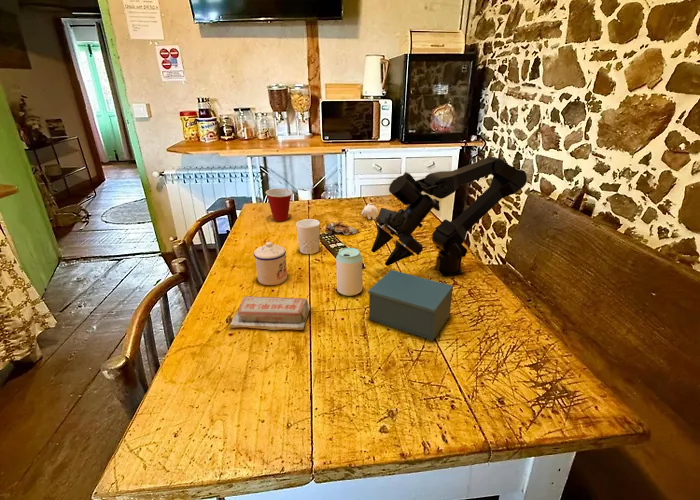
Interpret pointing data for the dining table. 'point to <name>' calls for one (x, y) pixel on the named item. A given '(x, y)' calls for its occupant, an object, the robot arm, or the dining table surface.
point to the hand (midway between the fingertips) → (378, 258)
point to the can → (349, 271)
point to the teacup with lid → (271, 264)
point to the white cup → (308, 235)
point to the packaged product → (272, 313)
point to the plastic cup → (279, 203)
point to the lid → (411, 290)
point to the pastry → (340, 228)
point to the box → (409, 316)
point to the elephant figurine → (370, 211)
